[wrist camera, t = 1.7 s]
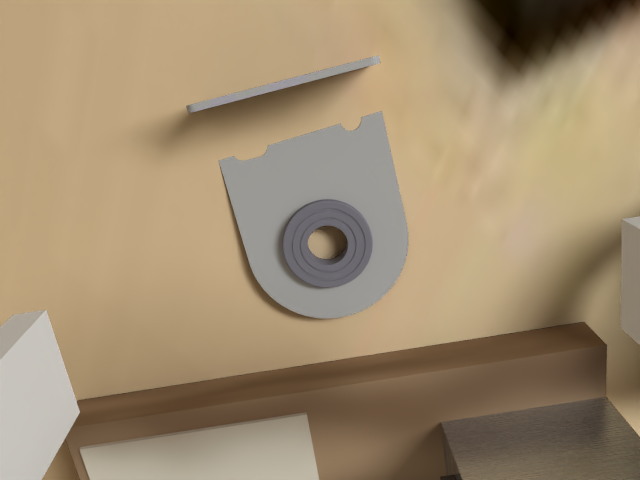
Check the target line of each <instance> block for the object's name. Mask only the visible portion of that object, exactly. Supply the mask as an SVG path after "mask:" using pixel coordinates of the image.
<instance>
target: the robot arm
mask: <svg viewBox="0 0 640 480" xmlns="http://www.w3.org/2000/svg"><path fill="white" fill-rule="evenodd" d="M621 329H622V330H623V331H624V332H625V333H626V334H628V335H629V336H630V337H631V338H632V339H633V340H634V341H635V342H637V343H638V344H639V345H640V216H638V217H632V218H625V219H622V250H621ZM79 413H80V411H79V408H78V405H77V402H76V399H75V396H74V393H73V390H72V387H71V383H70V380H69V377H68V374H67V371H66V368H65V365H64V362H63V359H62V356H61V353H60V350H59V347H58V344H57V341H56V338H55V335H54V332H53V329H52V326H51V323H50V320H49V317H48V314H47V311H46V310H41V311H34V312H28V313H22V314H15V315H12V316H11V317H10V318H9V319H8V320H7V321H6V322H5V323H4V324H3V325H2V326H1V327H0V480H42V478H43V476H44V475H45V473H46V471H47V469H48V468H49V466H50V464H51V462H52V461H53V459H54V457H55V455H56V454H57V452H58V450H59V448H60V447H61V445H62V443H63V441H64V439H65V438H66V436H67V434H68V432H69V431H70V429H71V427H72V425H73V424H74V422H75V420H76V418H77V417H78V415H79Z"/></svg>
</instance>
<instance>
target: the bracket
mask: <svg viewBox="0 0 640 480" xmlns="http://www.w3.org/2000/svg"><path fill="white" fill-rule="evenodd" d="M379 63H380V58H379V55H378V56H374V57H370V58H367V59H363V60H359V61H355V62H351V63H348V64H344V65H340V66H336V67H332V68H329V69H325V70H321V71H317V72H313V73H310V74H306V75H302V76H298V77H294V78H291V79H287V80H283V81H279V82H275V83H272V84H268V85H264V86H260V87H256V88H252V89H249V90H245V91H241V92H237V93H233V94H230V95H226V96H222V97H218V98H214V99H211V100H207V101H203V102H199V103H195V104H192V105H188V106H186V107H187V110H188V113H192V112H196V111H199V110H203V109H207V108H211V107H215V106H218V105H222V104H226V103H230V102H234V101H238V100H241V99H245V98H249V97H253V96H257V95H260V94H264V93H268V92H272V91H276V90H279V89H283V88H287V87H291V86H295V85H299V84H302V83H306V82H310V81H314V80H318V79H321V78H325V77H329V76H333V75H337V74H341V73H344V72H348V71H352V70H356V69H360V68H363V67H367V66H371V65H375V64H379ZM219 163H220V167H221V170H222V174H223V177H224V180H225V184H226V187H227V190H228V194H229V197H230V200H231V204H232V207H233V210H234V214H235V217H236V220H237V224H238V227H239V230H240V234H241V237H242V240H243V244H244V247H245V251H246V254H247V257H248V261H249V264H250V266H251V269H252V272H253V274H254V275H255V277H256V279H257V281H258V283H259V284H260V285H261V287H262V288H263V289H264V291H265V292H266V293H267V294H268V295H269V296H270V297H271V298H272V299H274V300H275V301H276V302H278V303H279V304H280V305H282V306H284V307H285V308H287V309H289V310H291V311H293V312H296V313H298V314H301V315H305V316H308V317H314V318H339V317H344V316H348V315H352V314H355V313H357V312H360V311H362V310H364V309H366V308H368V307H370V306H371V305H373V304H374V303H376V302H377V301H378V300H380V299H381V298H382V297H383V296H384V295H385V294H386V293H387V292H388V291H389V290H390V289H391V287H392V286H393V285H394V283H395V282H396V280H397V279H398V277H399V275H400V273H401V271H402V269H403V266H404V263H405V260H406V256H407V250H408V229H407V223H406V218H405V213H404V209H403V204H402V200H401V195H400V191H399V186H398V182H397V177H396V173H395V168H394V164H393V159H392V155H391V150H390V146H389V141H388V137H387V132H386V127H385V123H384V118H383V114H382V111H380V112H377V113H373V114H370V115H367V116H364V117H361V124H360V126H359V127H358V128H357V129H356V130H353V131H348V130H345V129H344V128H343V127H342V126H341V124H337V125H334V126H331V127H328V128H324V129H321V130H318V131H314V132H311V133H308V134H305V135H301V136H298V137H295V138H291V139H288V140H285V141H282V142H278V143H275V144H272V145H269V146H268V147H267V151H266V153H265V154H264V155H263V156H261V157H257V158H253V159H250V160H246V161H240V160H238V159H236V158H235V157H234V156H232V157H229V158H226V159H223V160H219ZM322 226H334V227H337V228H339V229H340V230H341V231H343V233H344V234H345V235H346V237H347V244H346V247H345V249H344V251H343V252H342V253H341V254H340V255H339V256H337V257H335V258H333V259H321V258H318V257H316V256H315V255H314V254H312V252H311V251H310V250H309V248H308V244H307V242H308V238H309V236H310V235H311V233H312V232H313V231H314V230H316V229H317V228H319V227H322Z"/></svg>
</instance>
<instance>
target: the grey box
mask: <svg viewBox="0 0 640 480" xmlns="http://www.w3.org/2000/svg"><path fill="white" fill-rule="evenodd" d="M441 427H442V437H443V448H444V458H445V468H446V476H441V477H440V480H640V437H639V435H638V434H637V433H636V432H635V431H634V429H633V428H632V427H631V426H630V425H629V423H628V422H627V421H626V420H625V419H624V418H623V416H622V415H621V414H620V413H619V412H618V410H617V409H616V408H615V407H614V406H613V404H612V403H611V402H610V401H609V400H608V398H607V397H601V398H594V399H588V400H581V401H575V402H568V403H562V404H555V405H549V406H542V407H536V408H529V409H523V410H516V411H510V412H503V413H497V414H490V415H484V416H477V417H471V418H464V419H458V420H451V421H445V422H441Z"/></svg>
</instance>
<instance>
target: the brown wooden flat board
mask: <svg viewBox="0 0 640 480" xmlns="http://www.w3.org/2000/svg"><path fill="white" fill-rule="evenodd" d="M606 359H607V345H606V344H605V343H604V342H603V341H602V340H601V339H600V338H599V337H598V336H597V335H596V334H595V332H594V331H593V330H592V329H591V328H590V327H589V326H588V325H587V324H586V323H585V322H581V323H575V324H568V325H562V326H556V327H549V328H543V329H536V330H530V331H523V332H517V333H510V334H504V335H498V336H491V337H485V338H478V339H472V340H465V341H459V342H452V343H446V344H440V345H433V346H427V347H420V348H414V349H407V350H401V351H394V352H388V353H382V354H375V355H369V356H362V357H356V358H349V359H343V360H336V361H330V362H324V363H317V364H311V365H304V366H298V367H291V368H285V369H278V370H272V371H265V372H259V373H253V374H246V375H240V376H233V377H227V378H220V379H214V380H207V381H201V382H195V383H188V384H182V385H175V386H169V387H162V388H156V389H149V390H143V391H137V392H130V393H124V394H117V395H111V396H104V397H98V398H91V399H85V400H79V401H78V402H77V405H78V408H79V411H80V413H79V415H78V417H77V418H76V420H75V422H74V424H73V425H72V427H71V429H70V431H69V432H68V434H67V436H66V438H65V440H66V442H67V445H68V448H69V451H70V453H71V456H72V459H73V462H74V465H75V467H76V470H77V473H78V476H79V478H80V480H440V477H441V476H446V468H445V458H444V448H443V437H442V427H441V422H445V421H451V420H458V419H464V418H471V417H477V416H484V415H490V414H497V413H503V412H510V411H516V410H523V409H529V408H536V407H542V406H549V405H555V404H562V403H568V402H575V401H581V400H588V399H594V398H601V397H606Z"/></svg>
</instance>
